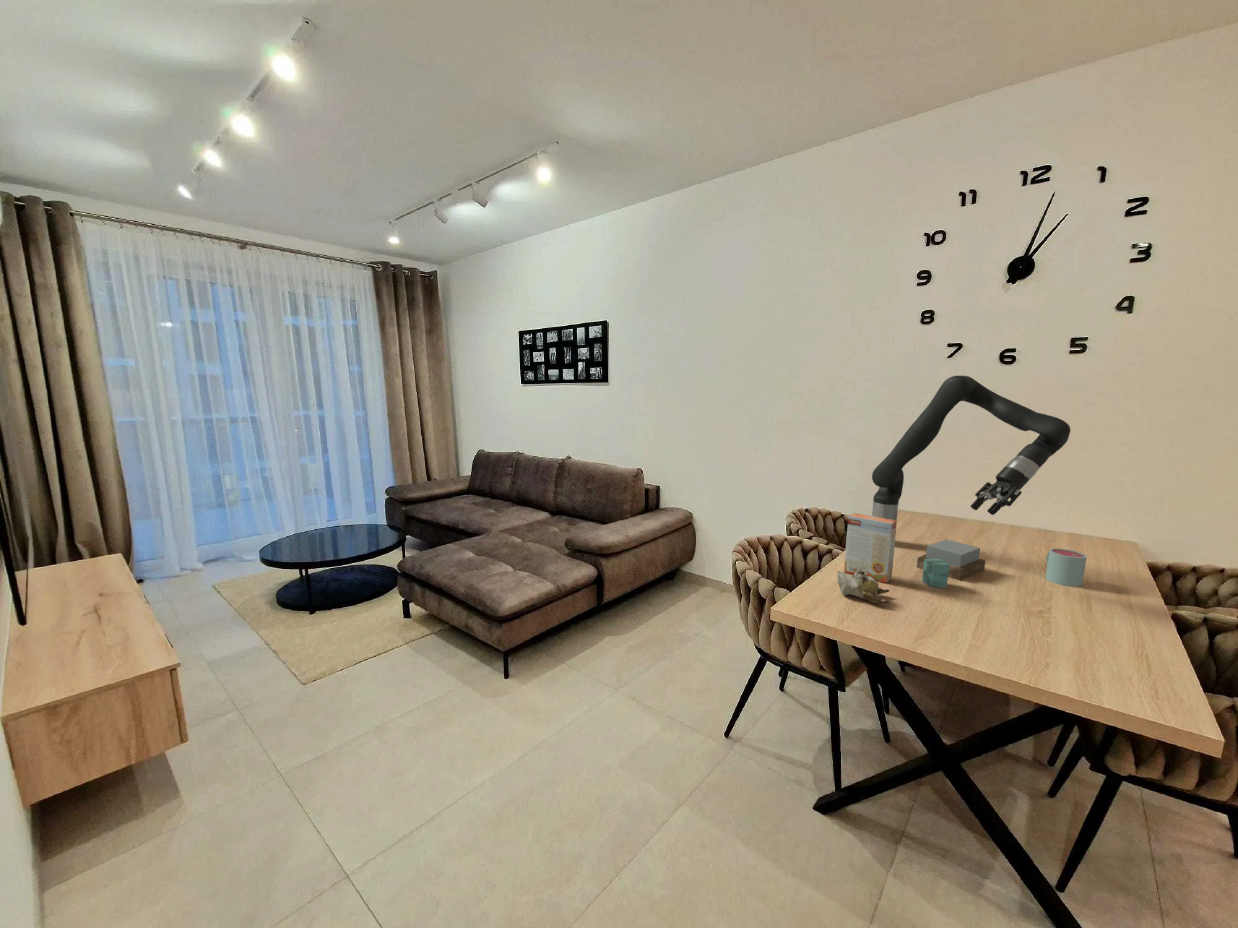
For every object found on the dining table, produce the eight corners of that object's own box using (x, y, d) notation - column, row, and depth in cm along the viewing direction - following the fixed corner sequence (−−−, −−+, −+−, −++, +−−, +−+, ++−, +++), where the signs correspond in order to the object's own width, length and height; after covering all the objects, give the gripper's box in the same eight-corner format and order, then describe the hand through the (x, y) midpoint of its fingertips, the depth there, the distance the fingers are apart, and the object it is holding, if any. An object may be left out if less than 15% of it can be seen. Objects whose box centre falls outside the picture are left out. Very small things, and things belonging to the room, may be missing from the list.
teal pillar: (921, 581, 164) (924, 558, 163) (936, 581, 164) (939, 558, 163) (931, 587, 159) (934, 564, 158) (946, 587, 159) (949, 564, 158)
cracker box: (892, 578, 166) (898, 519, 162) (886, 583, 162) (892, 523, 158) (849, 567, 176) (854, 511, 172) (843, 572, 172) (848, 515, 168)
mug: (1089, 587, 159) (1094, 558, 158) (1056, 585, 161) (1061, 556, 160) (1060, 572, 173) (1065, 545, 171) (1030, 570, 175) (1034, 543, 173)
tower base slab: (916, 568, 177) (917, 557, 176) (941, 559, 186) (943, 548, 185) (959, 582, 165) (960, 569, 164) (983, 571, 174) (985, 559, 174)
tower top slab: (925, 557, 175) (927, 545, 175) (945, 550, 183) (946, 539, 182) (959, 567, 166) (961, 555, 165) (978, 559, 173) (980, 547, 173)
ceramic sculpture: (840, 560, 158) (892, 572, 151) (836, 585, 160) (888, 598, 153) (836, 572, 149) (891, 584, 142) (832, 598, 151) (887, 612, 144)
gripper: (993, 463, 164) (959, 500, 166) (1024, 467, 150) (986, 507, 152) (1010, 478, 164) (976, 514, 166) (1043, 483, 150) (1005, 522, 152)
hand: (981, 510), depth 159 cm, fingers open, 8 cm apart
